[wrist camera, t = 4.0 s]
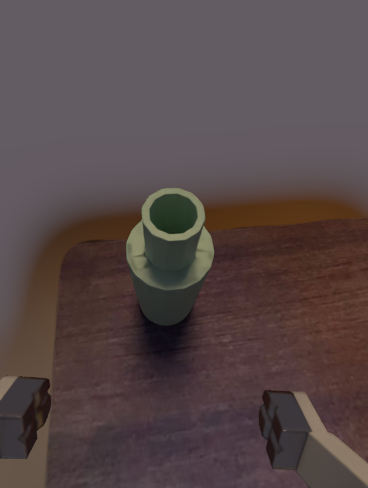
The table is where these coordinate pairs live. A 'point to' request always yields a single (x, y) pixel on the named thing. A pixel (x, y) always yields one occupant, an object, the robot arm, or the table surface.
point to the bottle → (169, 255)
